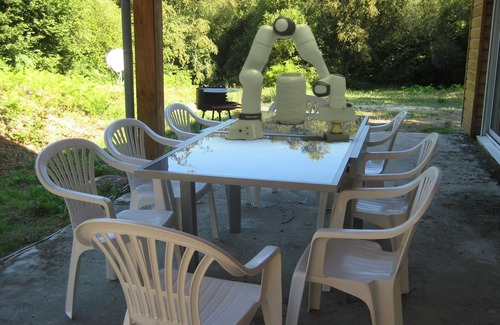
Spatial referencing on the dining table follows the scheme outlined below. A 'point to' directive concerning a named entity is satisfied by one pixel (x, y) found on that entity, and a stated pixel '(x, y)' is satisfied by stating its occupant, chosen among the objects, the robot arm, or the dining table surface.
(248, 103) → the robot arm
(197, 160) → the dining table surface
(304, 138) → the mat
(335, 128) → the knob
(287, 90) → the vase
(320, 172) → the dining table surface
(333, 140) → the housing
